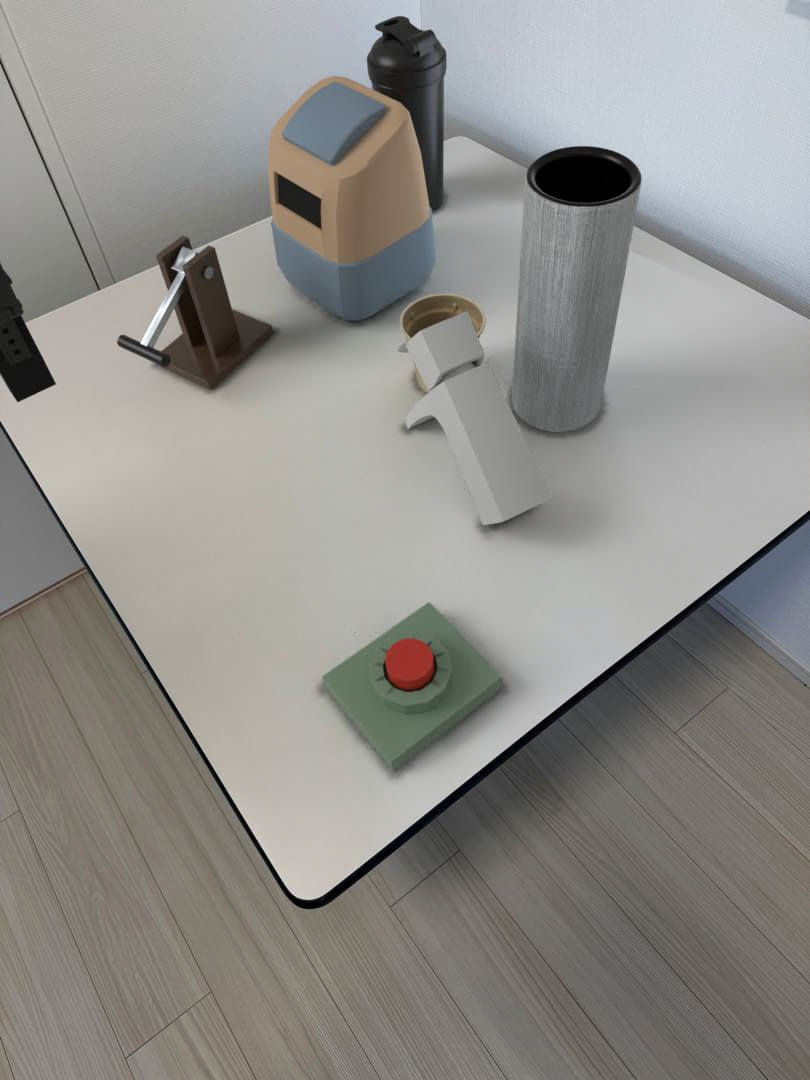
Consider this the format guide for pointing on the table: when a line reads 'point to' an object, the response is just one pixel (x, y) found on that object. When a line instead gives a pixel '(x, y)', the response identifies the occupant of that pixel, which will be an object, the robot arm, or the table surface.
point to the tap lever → (160, 316)
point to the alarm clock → (349, 199)
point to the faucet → (475, 420)
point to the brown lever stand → (207, 320)
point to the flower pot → (438, 316)
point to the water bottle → (414, 89)
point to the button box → (412, 715)
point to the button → (409, 664)
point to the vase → (571, 282)
